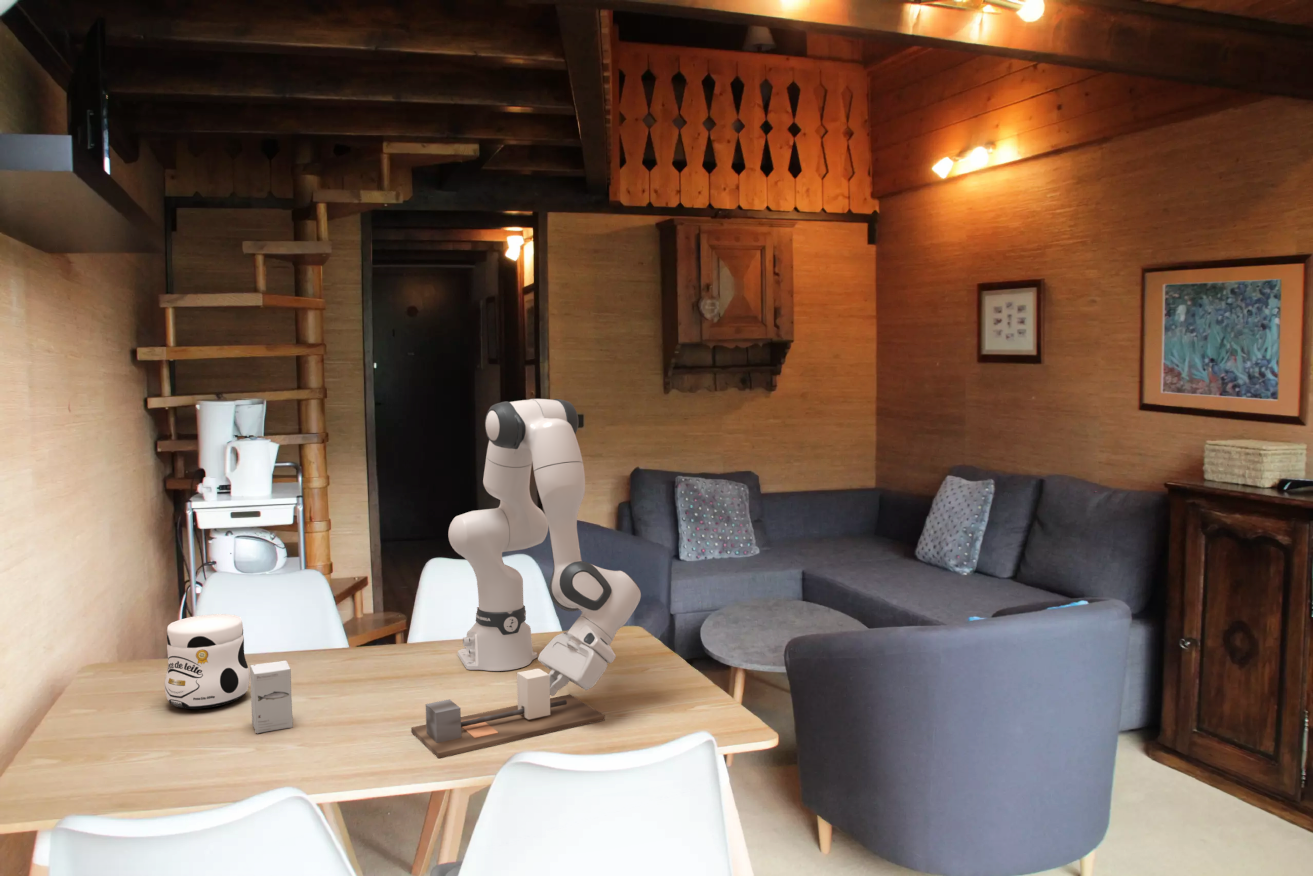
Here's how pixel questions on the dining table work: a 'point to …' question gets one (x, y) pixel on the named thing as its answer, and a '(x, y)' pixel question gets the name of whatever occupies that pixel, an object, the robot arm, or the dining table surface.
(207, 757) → the dining table surface
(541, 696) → the cream sliding block
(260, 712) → the supplement box
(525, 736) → the wooden slider track base
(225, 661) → the milk container
